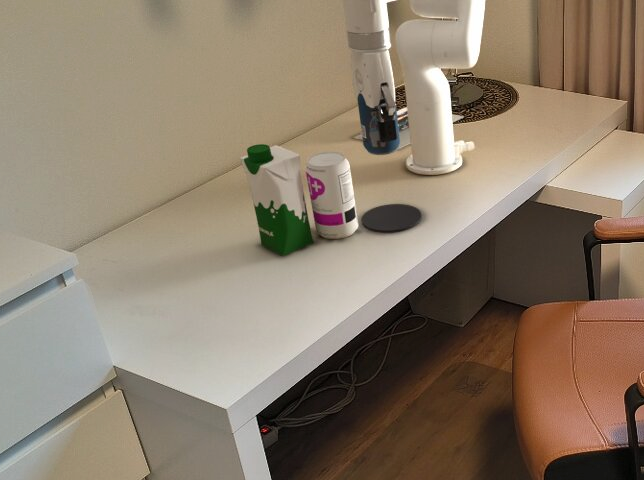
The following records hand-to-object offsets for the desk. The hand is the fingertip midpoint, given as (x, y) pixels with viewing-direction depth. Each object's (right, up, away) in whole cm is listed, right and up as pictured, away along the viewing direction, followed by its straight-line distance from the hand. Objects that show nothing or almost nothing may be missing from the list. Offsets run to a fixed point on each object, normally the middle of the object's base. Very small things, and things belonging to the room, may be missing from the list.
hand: (380, 133), depth 172 cm
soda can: (0, -3, +2) cm, 3 cm away
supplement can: (-9, -18, +6) cm, 21 cm away
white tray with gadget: (-2, +13, +53) cm, 55 cm away
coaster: (+1, -15, +10) cm, 18 cm away
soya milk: (-18, -21, +2) cm, 28 cm away
